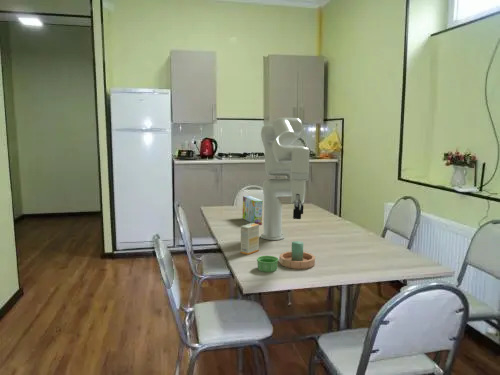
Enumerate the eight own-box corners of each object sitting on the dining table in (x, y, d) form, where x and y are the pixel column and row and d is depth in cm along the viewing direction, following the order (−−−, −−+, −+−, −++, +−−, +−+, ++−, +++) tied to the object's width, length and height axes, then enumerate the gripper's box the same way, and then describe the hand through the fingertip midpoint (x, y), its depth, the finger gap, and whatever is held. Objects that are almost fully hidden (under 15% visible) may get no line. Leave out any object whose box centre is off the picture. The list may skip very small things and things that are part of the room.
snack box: (262, 224, 247) (263, 200, 245) (254, 225, 245) (254, 200, 243) (249, 217, 266) (250, 195, 264) (241, 218, 264) (242, 195, 262)
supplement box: (251, 249, 196) (251, 222, 194) (259, 251, 193) (259, 224, 191) (240, 253, 189) (240, 225, 187) (247, 255, 186) (248, 227, 184)
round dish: (282, 256, 185) (282, 250, 184) (315, 259, 181) (316, 252, 181) (277, 267, 170) (277, 260, 170) (313, 270, 167) (313, 263, 166)
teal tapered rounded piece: (292, 258, 179) (292, 240, 178) (303, 259, 178) (303, 241, 176) (290, 262, 174) (291, 243, 173) (302, 262, 173) (302, 244, 172)
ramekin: (265, 274, 162) (265, 263, 161) (252, 268, 169) (252, 257, 169) (282, 270, 167) (283, 259, 166) (269, 264, 174) (269, 254, 174)
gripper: (293, 173, 180) (291, 211, 182) (287, 178, 163) (286, 220, 166) (310, 174, 178) (308, 212, 181) (306, 179, 161) (305, 221, 164)
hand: (298, 216), depth 173 cm, fingers open, 9 cm apart
